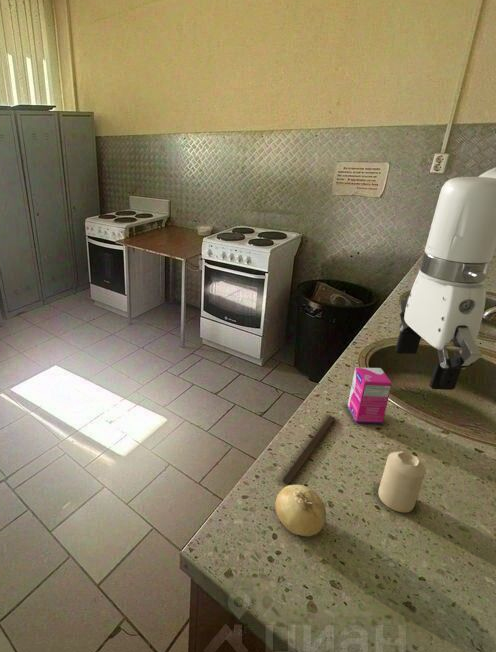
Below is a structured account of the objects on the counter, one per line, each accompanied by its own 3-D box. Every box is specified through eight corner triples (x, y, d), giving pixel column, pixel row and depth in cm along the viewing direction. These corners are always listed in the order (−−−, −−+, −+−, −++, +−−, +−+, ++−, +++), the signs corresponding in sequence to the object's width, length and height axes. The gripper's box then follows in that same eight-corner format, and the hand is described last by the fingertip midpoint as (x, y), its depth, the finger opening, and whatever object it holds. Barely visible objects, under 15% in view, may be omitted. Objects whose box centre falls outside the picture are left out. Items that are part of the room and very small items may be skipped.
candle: (379, 506, 70) (391, 464, 66) (376, 482, 74) (388, 441, 71) (416, 517, 68) (431, 474, 64) (411, 492, 72) (424, 451, 68)
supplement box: (346, 406, 94) (354, 366, 90) (372, 408, 94) (382, 367, 89) (354, 423, 89) (364, 381, 85) (383, 425, 88) (394, 383, 84)
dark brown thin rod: (334, 420, 90) (335, 417, 90) (288, 484, 75) (289, 482, 74) (329, 417, 91) (329, 415, 91) (282, 481, 75) (282, 479, 75)
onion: (264, 509, 70) (268, 480, 67) (299, 494, 73) (304, 466, 70) (296, 551, 63) (301, 520, 60) (334, 533, 66) (341, 503, 63)
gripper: (532, 292, 47) (487, 406, 54) (442, 250, 63) (416, 342, 70) (466, 291, 48) (429, 404, 55) (393, 249, 64) (372, 341, 71)
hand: (422, 369), depth 62 cm, fingers open, 9 cm apart
